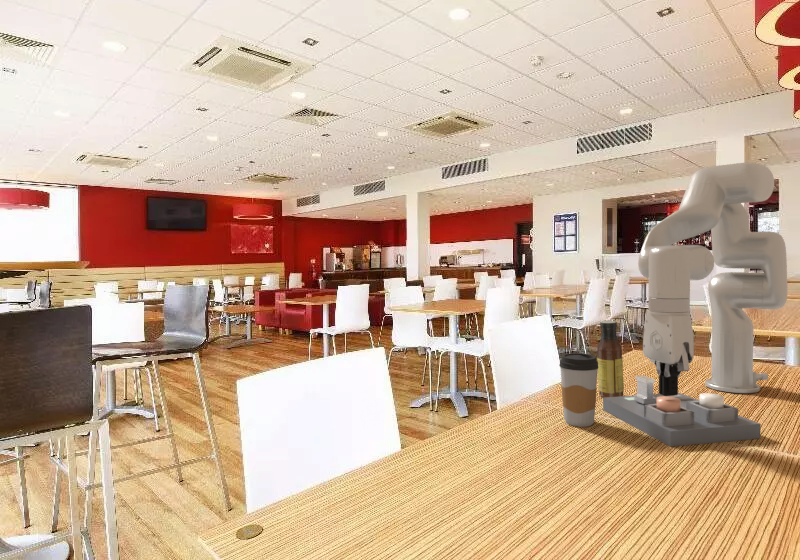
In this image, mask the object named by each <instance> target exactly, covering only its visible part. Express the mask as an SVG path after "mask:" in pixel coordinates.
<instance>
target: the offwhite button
mask: <svg viewBox="0 0 800 560" xmlns="http://www.w3.org/2000/svg"><path fill="white" fill-rule="evenodd" d="M724 399H725V397H724V396H723V395H721V394H717V393H711V392H708V393H707V392H704V393H699V399H698V400H699V405H700V406H703V407H705V408H708V409H720V408H724V404H725V400H724Z"/></svg>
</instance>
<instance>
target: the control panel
mask: <svg viewBox="0 0 800 560" xmlns="http://www.w3.org/2000/svg"><path fill="white" fill-rule="evenodd" d="M634 395H635V394H633V395H623V396H619V397H605V398H604V397H602V400H603V401H602V410H603V411H605V412H606V413H608V414H610V415H612V416H614V417H616V418H617V419H620V420H621V421H623V422H625V423H626V424H628V425H630V426H632V427H634V428H635V429H637V430H639V431H641V432H643V433H645V434H646V435H648V436H651V437H652V438H654V439H655V440H657V441H659V442H661V443H663V444H665V445H667V446H669V447H680V446H681V447H682V446H691V445H702V444H713V443H723V442H735V441H744V440H746V441H747V440H758V439H761V432H762V431H761V426H762V424H761V423H760V422H757V421H754V420H751V419H749V418H746V417H744V416H741V415H739V408H738V407H735V406H733V405H730V404H727V403H724V408H720V409H708V408H705V407H703V406H700V405H699V399H697V398H694V397H691V396H689V395H686V394H683V393H681V392H679V391H678V395H675V396H668V397H675V398H678V399H680V400H681V412H669V413H665V412H663V411H661V410H658V409H657V397H660V396H664V395H661V394H659V393H653V397H655V398H656V403H653V404H642V403H640V402H638V401H636V400H634Z"/></svg>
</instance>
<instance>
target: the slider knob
mask: <svg viewBox="0 0 800 560" xmlns="http://www.w3.org/2000/svg"><path fill="white" fill-rule="evenodd" d="M635 380H636V386H637V387H636V388H637V389H636V394H633V395H634V400H636V401H638V402H640V403H642V404H653V403H656V398H655V397H653V394H654V384H655V383H656V378H652V377H649V376H646V375H642V374H641V375H635Z"/></svg>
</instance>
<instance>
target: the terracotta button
mask: <svg viewBox="0 0 800 560" xmlns="http://www.w3.org/2000/svg"><path fill="white" fill-rule="evenodd" d="M657 409H658V410H661V411H663V412H665V413H669V412H681V400H680V399H678V398H675V397H668V396H660V397H657Z"/></svg>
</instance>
